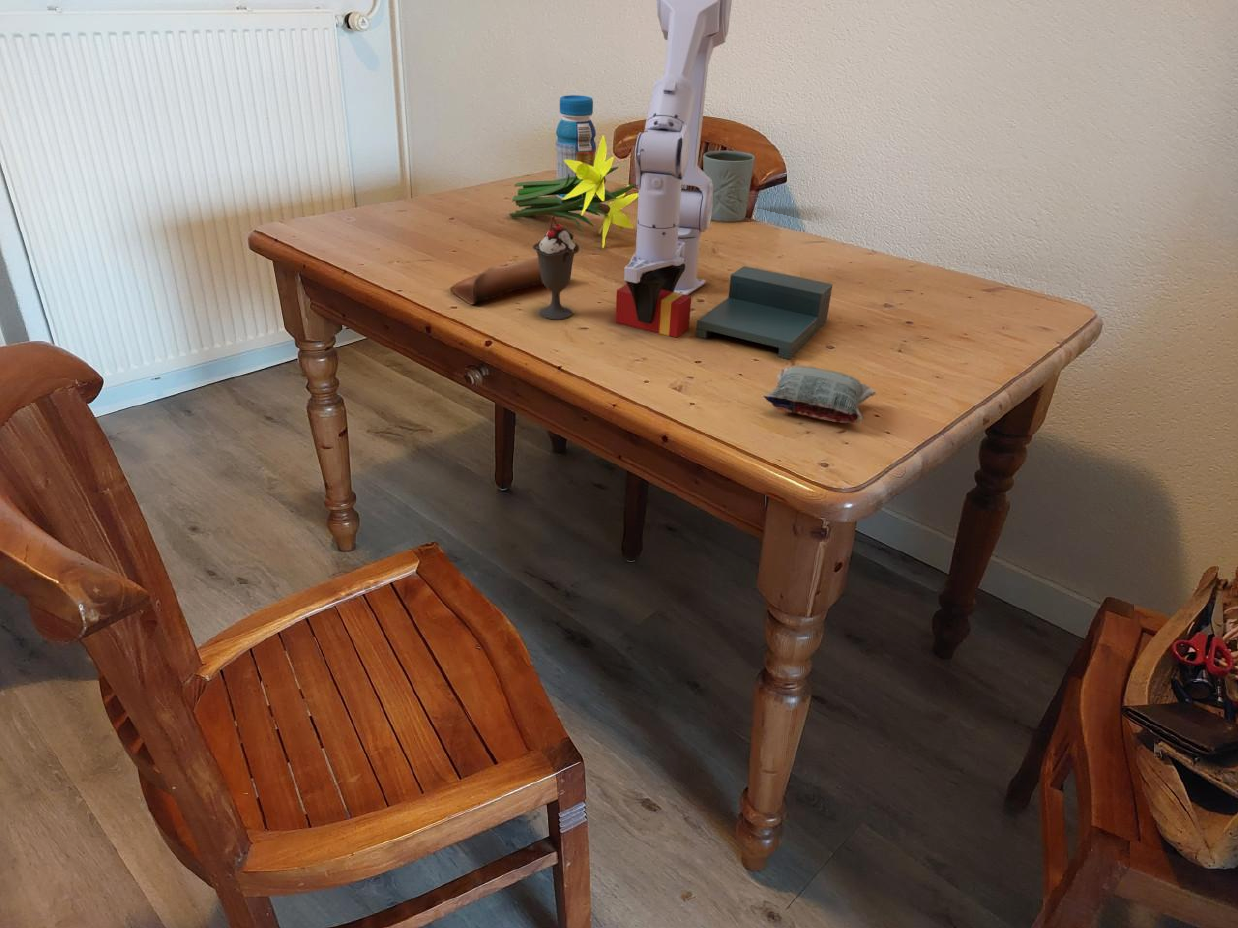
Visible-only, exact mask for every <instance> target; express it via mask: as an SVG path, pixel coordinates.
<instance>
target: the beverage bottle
mask: <svg viewBox="0 0 1238 928" xmlns="http://www.w3.org/2000/svg"><path fill="white" fill-rule="evenodd" d="M593 113H594V100H593V98H592V97H591V96H587V95H579V94H570V95H569V94H568V95H567V94H566V95H562V96H560V97H559V114H560V115H561V116H562V117H561V119H560V120H559V122H558V124H557V127H556V130H555V134H556V136H557V137H556V138H557V140H556V142H555V145H554V146H555V149H554V150H555V152H556V180H558V179H563V178H567V177H568V174H569V175H570V177H573V176H576V175H577V174H576V173H575V172H574V171H573V170H572V169H571V168H570V167H569V166H568V165H567V164H566V163H565V162H564V160H565V159H570V160H575V161H580V162H583V163H586V164H588V165H590V166H593V167H594V160H595V157H596V153H597V144H596V141H595V137H596V136H597V132H596V128H595V126H594V123H593V121H592V120H591V118H590V117H592V116H593ZM586 192H587V191H586ZM584 193H585V192H584ZM582 194H583V193H582ZM566 195H567V194H563V195H555V197H559V198H561V200H565V199H564V197H565V196H566ZM577 196H578V195H577ZM574 197H575V196H574ZM593 197H595V195H594V196H593ZM571 198H572V197H571ZM568 199H569V198H568Z"/></svg>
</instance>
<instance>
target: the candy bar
mask: <svg viewBox="0 0 1238 928" xmlns="http://www.w3.org/2000/svg"><path fill="white" fill-rule="evenodd" d="M691 306H692V295H690V294H688V295H685V294H681V293H677V292H671V291H667V290H662V289H661V290H660V293H659V296H658V300H657V305H656V311H655V316H654V319H653V322H652V323H651V324H649V323H645V322H641V321H638V318H637V313H636V308H635V304H634V300H633V296H632V293H631V291H630V289H629V287H628V285H627V283H625V284H624V285H623V286H621V287H619V288H617V289H616V302H615V323H616V324H620V325H624V326H629V327H633V328H637V329H640V330H644V331H647V332H653V333H657V334H660V335H664V336H668V337H673V338H678V337H680V336H681V335H683V334H684V333H685V332H687V331H688V330H689V329H690V318H691Z"/></svg>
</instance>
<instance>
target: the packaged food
mask: <svg viewBox="0 0 1238 928" xmlns="http://www.w3.org/2000/svg"><path fill="white" fill-rule="evenodd" d="M776 379H777V385H776V388H775V389H773V390H772V391H770V392H769V393H767V394H765V395H763V398H765V400H766V401H767V402H768V403H771V404H772V406H773V407H774V408H776V409H777V410H778V411H782V412H785V413H791V414H795V415H801V416H807V417H810V418H814V419H819V420H824V421H829V422H834V423H841V424H842V423H843V424H845V423H847V424H851V423H853V422H859V423H861V424H863V423H864V420H863V418H862V413H861V411H860V410H859V408H858V407H859V406H861V404H863V403H864V402H865V401H867V400H868V399H869V398H870V397H874V396H876V393H877V392H876V390H874V389H872V388H870V386H868V385H866V384H865V383H861V382H860V380H858V379H857V377H855V376H852V375H849V374H845V373H842V372H838V371H833V370H828V369H823V368H818V367H814V366H800V365H799V366H798V365H797V366H789V367H788V368H785V369H783V368H781V371H780V373H779V374H778V375H777V377H776Z"/></svg>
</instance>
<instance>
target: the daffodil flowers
mask: <svg viewBox="0 0 1238 928" xmlns="http://www.w3.org/2000/svg"><path fill="white" fill-rule="evenodd" d="M599 141H600V142H599V144H598V148H597V149H596V153H595V160H594V167H593V166H590V165H588V164H586V163H583V162H580V161H575V160H570V159H565V160H564V162H565V163H566V164H567V165H568V166H569V167H570V168H571V169H572V170H573V171H574V172H575V173H576V174H577V175H576V176H573V177H570V175H569V174H568V177H567V178H563V179H558V180H557V179H553V180H532V181H519V182H516V183H515V184H514V187H522V188H519V189H518V190H517V195H514V196H513V197H512V199H511V202H513V203H515V205H516V206H518V208H522V209H520V210H515V211H514V212H510V213H508V214H509V217H510V218H512V219H514V218H524V217H530V216H548V217H553V216H555V218H561V219H562V218H563V219H566V220H570V221H573V222H574V223H575V224H576V225H577V227H578V228H579V230H580V231H581V232H582V233H583V232H584V231H583V227H582V225H581V223H580V221H582V222H584V223H586V224H587V225H589V226H591V227H595V225H594V224H593V223H592V222H591V221H590V220H589V219H588V218H587V217H585V216H584V214H585V212H586V213H589V214H592V215H595V216H601V215H603V223H602V225H601V228H600V229H599V232H598V235H600V234H601V232H602V248H605V244H606V238H607V234H608V231H609V228H610V226H611V223H612V224H613V225H615V226H616V225H617V226H618V227H619V228H620V229H621V230H625V229H634V225H633V223H632V222H631V220H630V219H631V216H630V215H627V214H625V213H623V212H622V211H621V210H623V209H624V208H625V207H627V206H628V205H629V204H631V203H632V202H633V201H635V200H636V199H638V193H639V192H634V193H631V194H628V195H626V193H627V192H630V191H631V190H632V189H633V188H635V187H636V183H634V184H630V183H629V184H628V185H626V186H625V187H621V188H619V189H617V190H613V191H609V190H607V189H606V188H605V184H606V181H607V179H606V176H608V175H609V174H611V173H613V172H614V171H616V170H618V169H619V166H613V161H614V159H615V155H614V156H611V157H610V158H608V159H607V153H608V151H607V149H608V148H607V147H608V145H607V141H606V137H605V134H602V136H601V139H600V140H599ZM612 166H613V167H612ZM586 191H587V192H586ZM584 192H585V193H584ZM582 193H583V194H582ZM563 194H567V195H566V196H565V197H564V199H565V200H561V198H559V197H557V196H556V195H563ZM577 195H578V196H577ZM625 195H626V196H625ZM574 196H575V197H574ZM593 196H594V197H593ZM571 197H572V198H571ZM568 198H569V199H568ZM611 200H613V201H611ZM608 201H609V202H608ZM605 202H608V204H607V203H605ZM579 211H581V214H580V213H577V212H579ZM577 219H578V220H580V221H578V220H577Z"/></svg>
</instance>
